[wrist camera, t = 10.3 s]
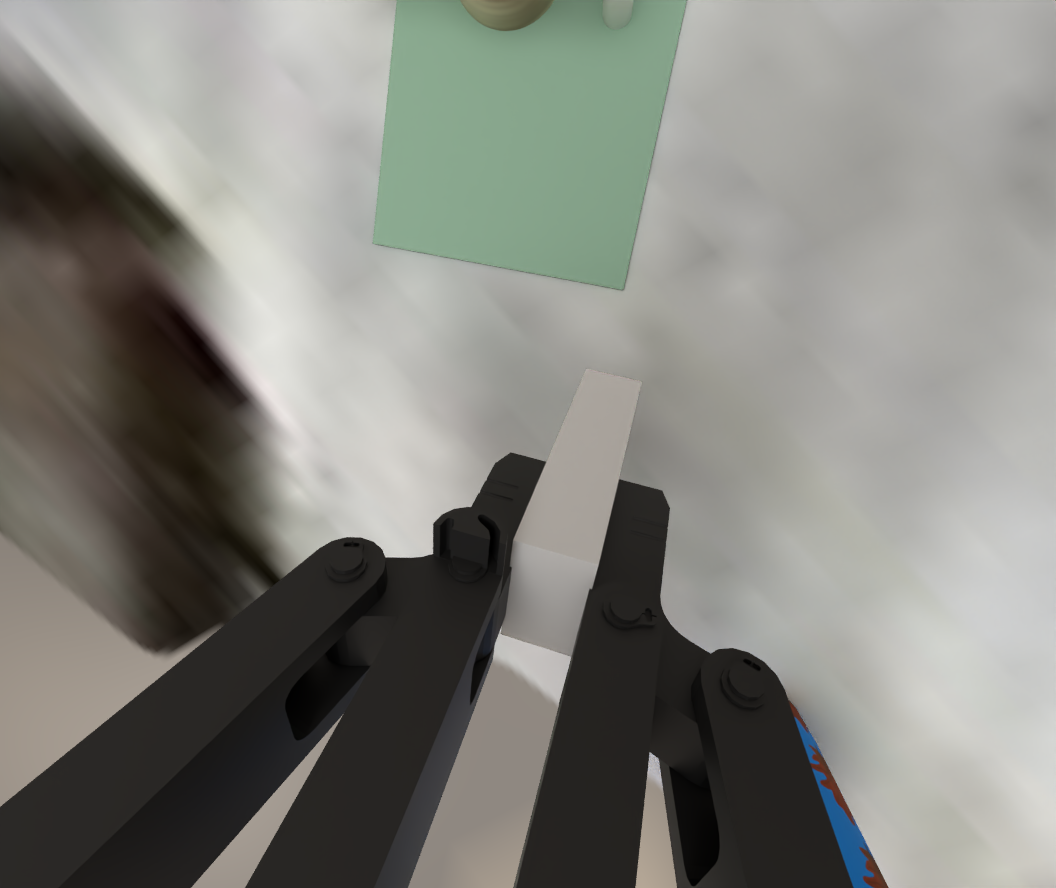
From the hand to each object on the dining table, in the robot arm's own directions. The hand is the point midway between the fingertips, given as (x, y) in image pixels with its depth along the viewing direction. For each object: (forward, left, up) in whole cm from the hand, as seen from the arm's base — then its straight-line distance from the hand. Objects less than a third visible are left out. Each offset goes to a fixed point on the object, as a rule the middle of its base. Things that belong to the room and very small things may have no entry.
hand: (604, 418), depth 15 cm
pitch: (+8, -15, -25) cm, 31 cm away
